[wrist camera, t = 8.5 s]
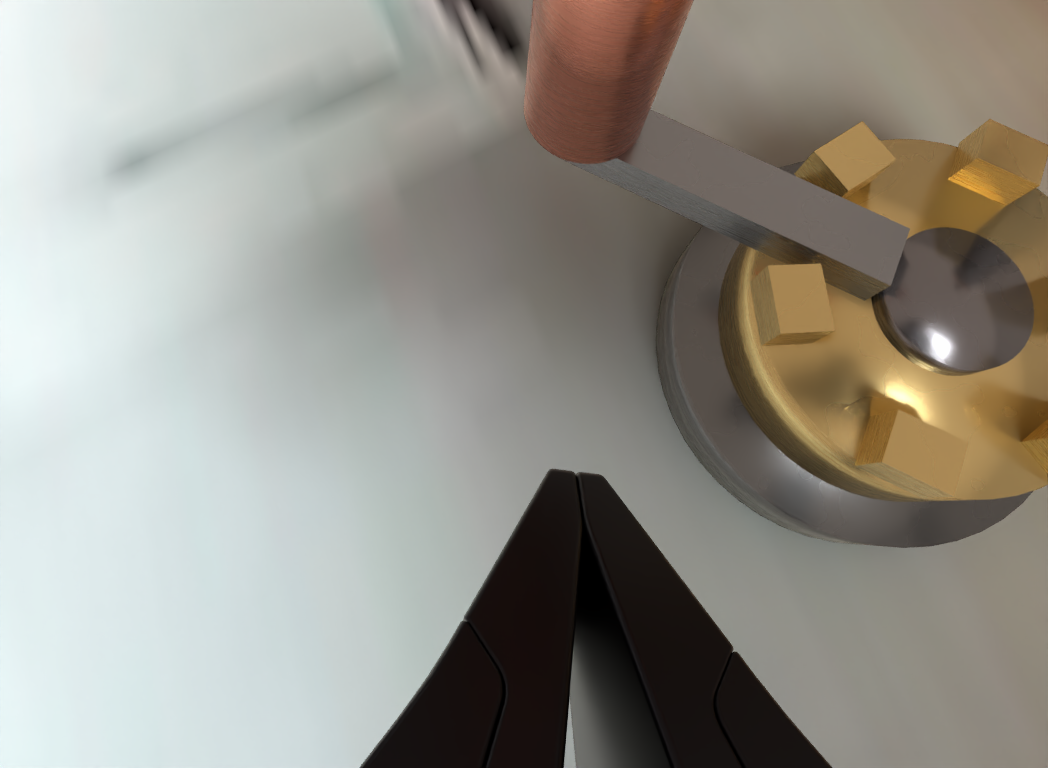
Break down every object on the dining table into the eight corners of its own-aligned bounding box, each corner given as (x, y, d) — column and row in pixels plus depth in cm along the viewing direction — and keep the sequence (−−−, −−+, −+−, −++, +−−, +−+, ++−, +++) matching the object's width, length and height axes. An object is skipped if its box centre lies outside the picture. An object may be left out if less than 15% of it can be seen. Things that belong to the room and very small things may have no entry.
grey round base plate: (795, 621, 17) (834, 635, 15) (587, 281, 20) (598, 255, 18) (1084, 427, 20) (1151, 417, 18) (867, 141, 22) (905, 104, 20)
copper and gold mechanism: (1067, 267, 18) (2187, -210, 6) (992, 567, 16) (2615, 734, 4) (587, 49, 19) (759, -747, 7) (445, 301, 17) (336, -264, 5)
